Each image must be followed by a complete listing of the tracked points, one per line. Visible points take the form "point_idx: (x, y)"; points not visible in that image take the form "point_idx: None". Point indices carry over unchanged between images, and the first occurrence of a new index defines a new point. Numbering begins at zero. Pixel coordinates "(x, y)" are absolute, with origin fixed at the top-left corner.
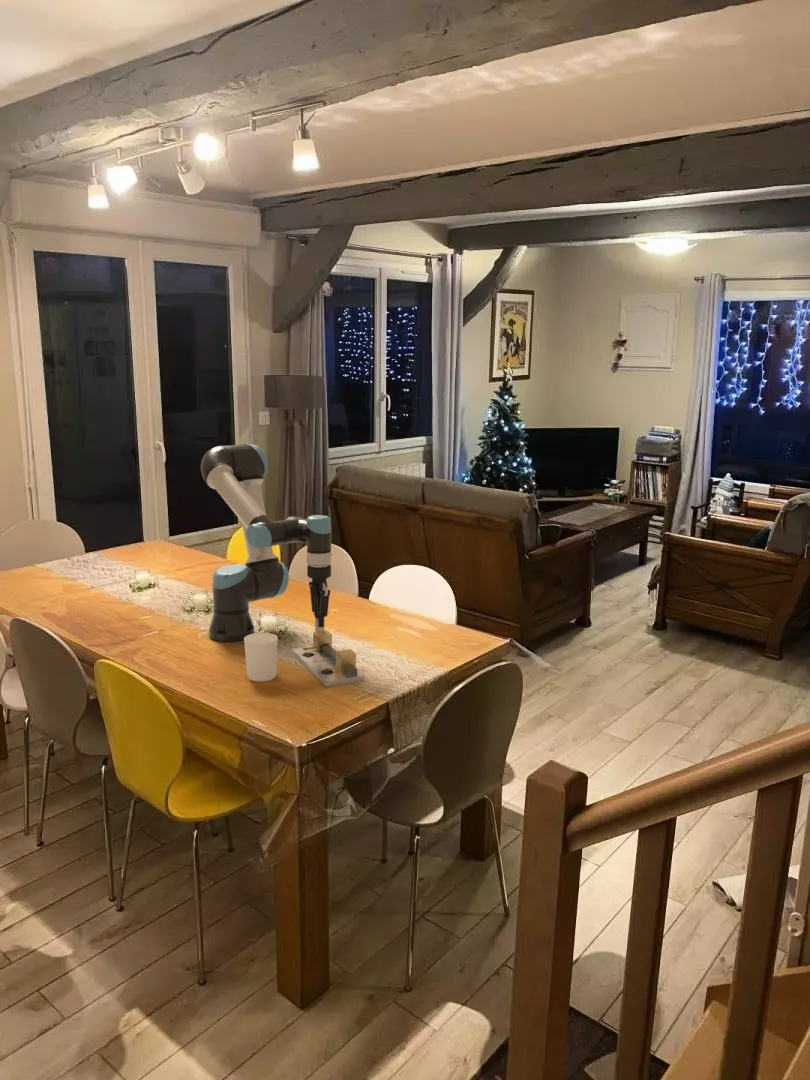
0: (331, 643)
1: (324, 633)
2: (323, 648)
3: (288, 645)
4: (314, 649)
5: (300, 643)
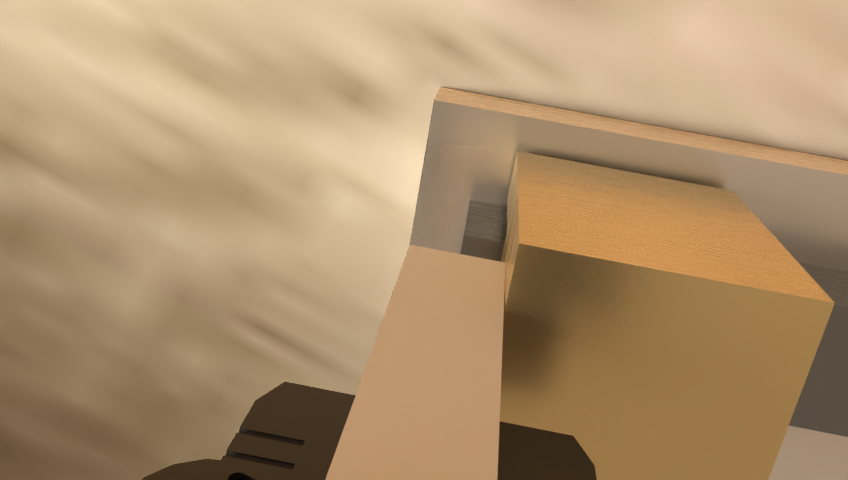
0: (758, 230)
1: (676, 412)
2: (798, 416)
3: (58, 438)
4: None
5: (46, 284)
